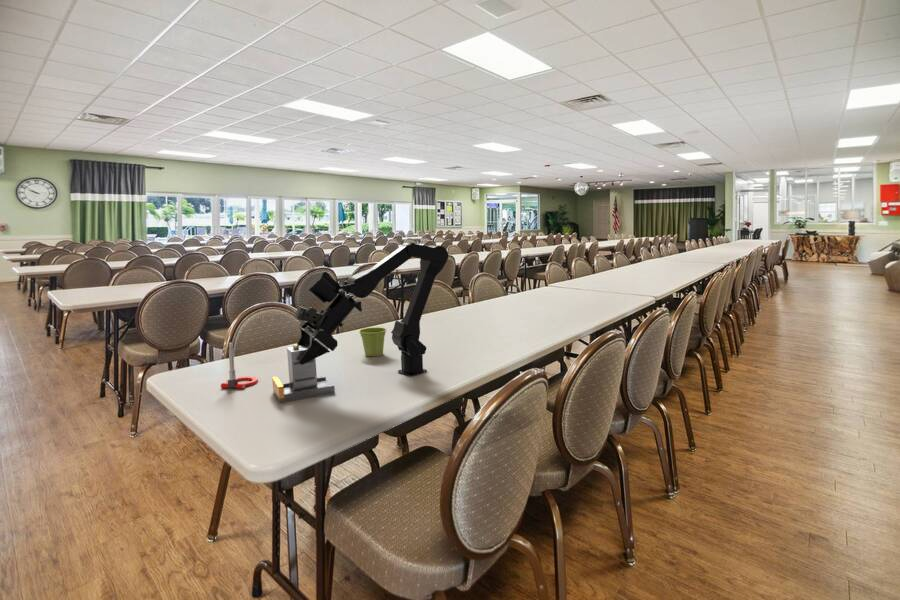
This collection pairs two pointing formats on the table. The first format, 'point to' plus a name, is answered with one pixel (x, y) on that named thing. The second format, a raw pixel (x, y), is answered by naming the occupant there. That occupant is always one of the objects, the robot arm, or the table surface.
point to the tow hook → (233, 380)
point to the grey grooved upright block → (301, 369)
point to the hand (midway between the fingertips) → (296, 359)
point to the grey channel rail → (286, 394)
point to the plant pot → (373, 340)
